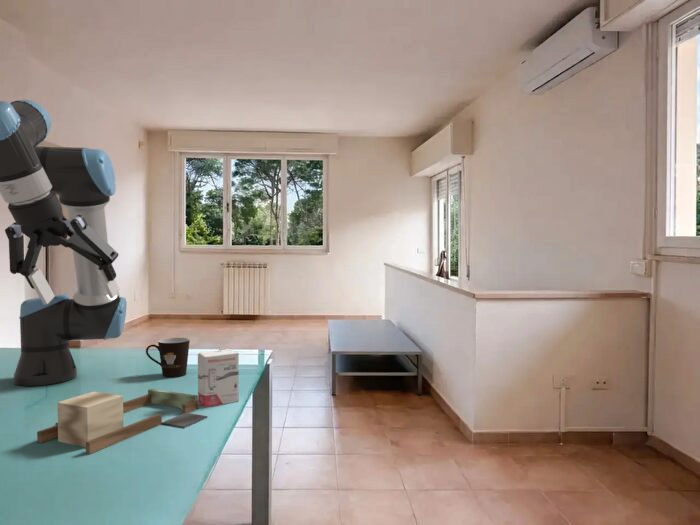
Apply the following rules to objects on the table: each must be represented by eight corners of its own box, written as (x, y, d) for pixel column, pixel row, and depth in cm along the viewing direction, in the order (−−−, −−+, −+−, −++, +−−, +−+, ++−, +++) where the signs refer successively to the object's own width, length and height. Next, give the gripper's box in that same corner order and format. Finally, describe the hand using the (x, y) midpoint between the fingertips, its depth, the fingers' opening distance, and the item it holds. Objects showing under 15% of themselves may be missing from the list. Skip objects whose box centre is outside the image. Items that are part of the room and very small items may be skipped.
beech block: (58, 441, 97) (57, 402, 97) (94, 428, 104) (94, 391, 104) (87, 448, 94) (87, 407, 93) (123, 433, 101) (122, 395, 101)
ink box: (203, 408, 117) (203, 356, 116) (197, 402, 121) (196, 352, 120) (240, 401, 122) (239, 351, 121) (232, 396, 126) (231, 348, 125)
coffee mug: (196, 373, 150) (196, 338, 149) (175, 380, 142) (174, 344, 141) (166, 369, 154) (165, 336, 154) (143, 375, 147) (143, 340, 146)
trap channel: (16, 437, 99) (16, 422, 99) (132, 398, 124) (132, 386, 124) (114, 459, 88) (114, 442, 88) (219, 412, 114) (219, 398, 114)
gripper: (-51, 214, 86) (11, 314, 97) (87, 197, 83) (134, 302, 94) (-21, 195, 93) (33, 291, 103) (108, 179, 90) (150, 280, 100)
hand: (82, 297), depth 99 cm, fingers open, 13 cm apart
